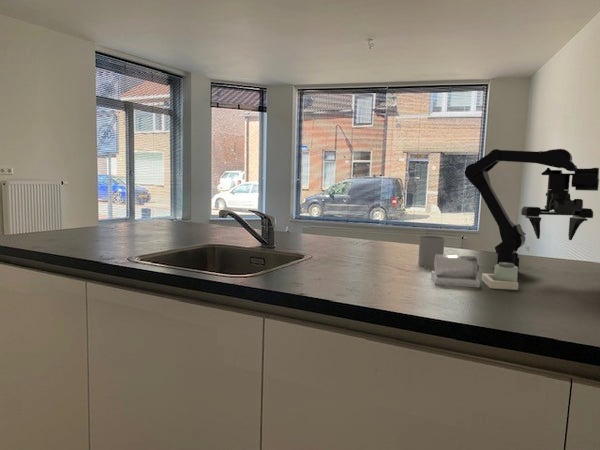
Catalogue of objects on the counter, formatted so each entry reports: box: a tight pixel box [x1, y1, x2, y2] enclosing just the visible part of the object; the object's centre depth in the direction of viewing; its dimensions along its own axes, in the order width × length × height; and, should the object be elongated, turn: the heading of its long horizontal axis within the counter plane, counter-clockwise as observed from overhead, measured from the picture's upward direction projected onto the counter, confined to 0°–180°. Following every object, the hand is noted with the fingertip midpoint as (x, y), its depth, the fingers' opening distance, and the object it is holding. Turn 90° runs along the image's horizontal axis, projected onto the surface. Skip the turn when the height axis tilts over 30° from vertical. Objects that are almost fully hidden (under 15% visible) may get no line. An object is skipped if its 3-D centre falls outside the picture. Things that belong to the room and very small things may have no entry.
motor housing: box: [431, 254, 481, 288], centre depth 123 cm, size 12×10×8 cm
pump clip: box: [481, 273, 519, 291], centre depth 121 cm, size 7×10×2 cm
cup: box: [418, 235, 445, 268], centre depth 149 cm, size 8×8×10 cm
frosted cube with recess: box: [493, 262, 519, 282], centre depth 121 cm, size 6×6×6 cm
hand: (554, 239), depth 132 cm, fingers open, 9 cm apart
